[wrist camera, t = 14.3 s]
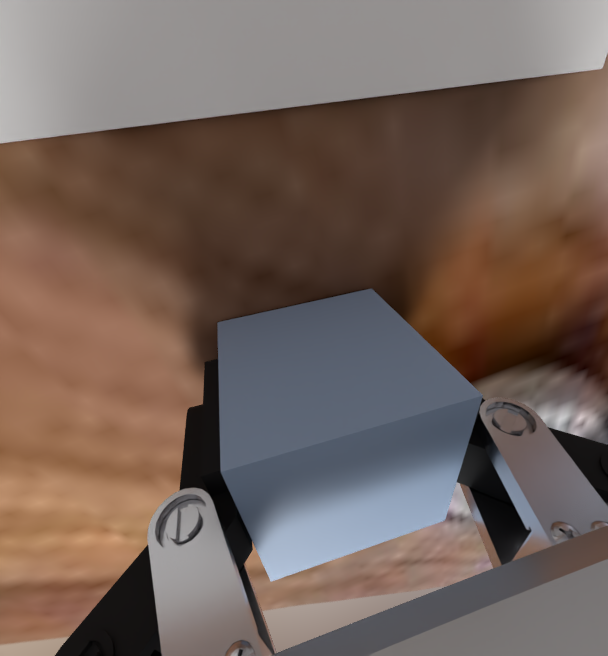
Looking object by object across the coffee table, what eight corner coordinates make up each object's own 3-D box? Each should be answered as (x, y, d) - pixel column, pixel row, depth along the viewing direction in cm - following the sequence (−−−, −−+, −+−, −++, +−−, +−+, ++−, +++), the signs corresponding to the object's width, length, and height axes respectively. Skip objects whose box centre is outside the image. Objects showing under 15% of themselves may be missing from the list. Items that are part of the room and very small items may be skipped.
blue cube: (371, 288, 10) (482, 395, 6) (370, 396, 13) (444, 520, 9) (217, 322, 9) (220, 472, 5) (251, 428, 12) (271, 581, 8)
